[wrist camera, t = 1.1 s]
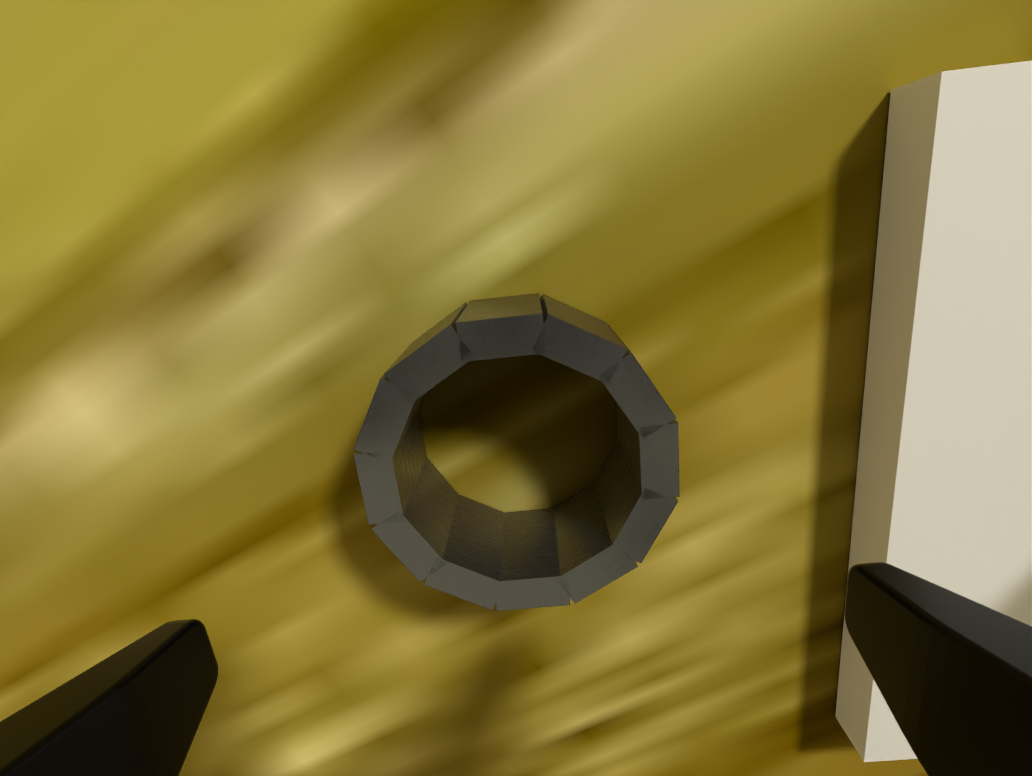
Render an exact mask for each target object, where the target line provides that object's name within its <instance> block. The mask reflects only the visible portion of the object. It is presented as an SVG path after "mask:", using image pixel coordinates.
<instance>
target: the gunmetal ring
mask: <svg viewBox="0 0 1032 776" xmlns="http://www.w3.org/2000/svg"><path fill="white" fill-rule="evenodd" d="M535 354H540V355H542V356H544V357H547V358H549V359H551V360H553V361H556V362H558V363H560V364H563V365H565V366H567V367H570V368H572V369H574V370H577V371H579V372H581V373H583V374H586V375H588V376H590V377H593V378H595V379H597V380H600V381H602V382H603V384H604V385H605V387H606V388H607V389H608V391H609V392H610V394H611V395H612V396H613V398H614V399H615V401H616V413H617V431H618V440H617V442H616V444H615V446H614V448H613V449H612V451H611V453H610V455H609V457H608V459H607V461H606V462H605V464H604V466H603V468H602V470H601V472H600V474H599V475H598V477H597V479H596V481H595V482H594V483H593V484H591V485H589V486H588V487H586V488H585V489H583V490H582V491H580V492H578V493H577V494H575V495H574V496H572V497H571V498H569V499H567V500H566V501H564V502H563V503H561V504H560V505H558V506H556V507H555V508H551V509H540V510H529V511H518V512H507V513H504V512H501V511H498V510H496V509H493V508H491V507H488V506H486V505H483V504H481V503H478V502H476V501H473V500H471V499H468V498H466V497H463V496H461V495H458V494H457V492H456V491H455V490H454V489H453V488H452V487H451V485H450V484H449V483H448V482H447V481H446V480H445V478H444V477H443V476H442V475H441V474H440V472H439V471H438V470H437V469H436V468H435V467H434V465H433V464H432V463H431V462H430V461H429V460H428V458H427V456H426V450H425V444H424V438H423V433H422V427H421V421H420V415H419V407H420V405H421V402H422V400H423V397H424V395H425V393H426V392H427V391H429V390H430V389H431V388H433V387H434V386H435V385H437V384H438V383H440V382H441V381H442V380H444V379H445V378H447V377H448V376H449V375H451V374H452V373H453V372H455V371H456V370H458V369H459V368H460V367H462V366H463V365H465V364H466V363H467V362H469V361H477V360H486V359H496V358H506V357H515V356H525V355H535ZM675 419H676V417H675V415H674V414H673V412H672V411H671V409H670V408H669V407H668V405H667V404H666V402H665V401H664V399H663V398H662V396H661V395H660V393H659V392H658V391H657V389H656V388H655V386H654V385H653V383H652V382H651V380H650V379H649V377H648V376H647V375H646V373H645V372H644V370H643V369H642V367H641V366H640V364H639V363H638V361H637V360H636V358H635V357H634V356H633V354H632V353H631V351H630V350H629V349H628V348H627V347H626V345H625V344H624V343H623V342H622V341H621V339H620V338H619V337H618V336H617V335H616V333H615V332H614V331H613V330H612V329H611V327H610V326H609V325H607V324H606V323H605V322H604V321H602V320H600V319H597V318H595V317H593V316H591V315H589V314H586V313H584V312H582V311H580V310H577V309H575V308H573V307H571V306H568V305H566V304H564V303H562V302H559V301H557V300H555V299H553V298H551V297H548V296H546V295H544V294H543V295H542V298H541V300H540V299H539V294H528V295H519V296H510V297H501V298H491V299H482V300H473V301H470V302H469V303H468V305H467V303H465V304H463V305H462V306H461V307H459V308H458V309H457V310H455V311H454V312H453V313H451V314H450V315H449V316H447V317H446V318H445V319H443V320H442V321H441V322H439V323H438V324H437V325H435V326H434V327H433V328H431V329H430V330H429V331H427V332H426V333H425V334H423V335H422V336H421V337H419V338H418V339H416V340H415V341H414V342H413V343H412V344H411V345H410V346H409V347H408V348H407V349H406V350H405V351H404V353H403V354H402V355H401V356H400V357H399V358H398V359H397V360H396V361H395V362H394V363H393V365H392V366H391V367H390V368H389V369H388V370H387V371H386V372H385V373H384V375H383V376H382V377H381V379H380V381H379V384H378V386H377V389H376V392H375V394H374V397H373V400H372V402H371V405H370V408H369V410H368V413H367V415H366V418H365V421H364V423H363V426H362V429H361V431H360V434H359V437H358V439H357V442H356V444H355V447H354V450H356V451H355V453H354V454H353V455H354V460H355V464H356V469H357V473H358V478H359V483H360V487H361V492H362V496H363V501H364V506H365V510H366V515H367V519H368V524H369V525H371V524H373V526H372V528H371V530H372V531H373V532H374V533H375V534H376V535H377V536H378V537H379V538H380V539H381V541H382V542H383V543H384V544H385V545H386V546H387V547H388V548H389V549H390V550H391V551H392V552H393V554H394V555H395V556H396V557H397V558H398V559H399V560H400V561H401V562H402V563H403V564H404V566H405V567H406V568H407V569H408V570H409V571H410V572H411V573H412V574H413V575H414V576H415V577H416V579H417V580H418V581H419V582H420V581H422V580H424V579H425V578H426V579H425V582H424V585H426V586H429V587H431V588H434V589H437V590H439V591H442V592H445V593H447V594H450V595H453V596H455V597H458V598H461V599H463V600H466V601H469V602H471V603H474V604H477V605H480V606H482V607H485V608H488V609H490V610H493V608H494V606H495V604H496V606H497V611H502V610H514V609H527V608H539V607H551V606H563V605H570V598H571V599H572V600H573V602H574V603H577V602H578V601H580V600H582V599H583V598H585V597H587V596H589V595H590V594H592V593H594V592H595V591H597V590H599V589H600V588H602V587H604V586H606V585H607V584H609V583H611V582H612V581H614V580H616V579H617V578H619V577H621V576H623V575H624V574H626V573H628V572H629V571H631V570H633V569H634V568H636V567H638V566H637V563H636V561H637V562H640V563H642V561H643V559H644V558H645V556H646V554H647V553H648V551H649V549H650V548H651V546H652V544H653V543H654V541H655V539H656V538H657V536H658V534H659V533H660V531H661V529H662V528H663V526H664V524H665V523H666V521H667V519H668V518H669V516H670V514H671V513H672V511H673V509H674V508H675V506H676V504H677V503H678V500H677V499H676V497H679V449H678V422H677V421H676V420H675Z"/></svg>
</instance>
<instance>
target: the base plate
mask: <svg viewBox="0 0 1032 776" xmlns="http://www.w3.org/2000/svg"><path fill="white" fill-rule="evenodd" d="M876 562H884V563H888V564H890V565H893V566H895V567H897V568H900V569H902V570H904V571H906V572H909V573H911V574H913V575H916V576H918V577H920V578H922V579H925V580H927V581H929V582H932V583H934V584H936V585H938V586H941V587H943V588H945V589H948V590H950V591H952V592H954V593H957V594H959V595H961V596H964V597H966V598H968V599H970V600H973V601H975V602H977V603H980V604H982V605H984V606H986V607H989V608H991V609H993V610H996V611H998V612H1000V613H1003V614H1005V615H1007V616H1009V617H1012V618H1014V619H1016V620H1019V621H1021V622H1023V623H1025V624H1028V625H1030V626H1032V61H1025V62H1017V63H1009V64H1000V65H992V66H984V67H976V68H968V69H960V70H952V71H943V72H940V73H937V74H934V75H931V76H928V77H926V78H923V79H920V80H917V81H915V82H912V83H909V84H906V85H903V86H901V87H898V88H895V89H892V90H891V93H890V104H889V116H888V127H887V138H886V150H885V161H884V172H883V183H882V195H881V206H880V217H879V229H878V240H877V251H876V263H875V274H874V285H873V296H872V308H871V319H870V330H869V342H868V353H867V364H866V376H865V387H864V398H863V409H862V421H861V432H860V443H859V455H858V466H857V477H856V489H855V500H854V511H853V522H852V534H851V545H850V556H849V568H848V573H849V570H850V568H851V567H852V566H854V565H856V564H864V563H876ZM847 580H848V579H847ZM846 591H847V590H846ZM845 603H846V602H845ZM835 717H836V719H837V720H838V722H839V723H840V725H841V727H842V728H843V730H844V731H845V733H846V735H847V736H848V738H849V739H850V741H851V742H852V744H853V746H854V747H855V749H856V750H857V752H858V754H859V755H860V757H861V758H862V760H863V761H864V762H874V761H889V760H904V759H918V758H917V757H916V755H915V754H914V752H913V750H912V748H911V747H910V745H909V743H908V741H907V740H906V738H905V736H904V734H903V733H902V731H901V729H900V727H899V725H898V723H897V722H896V720H895V718H894V716H893V714H892V712H891V711H890V709H889V707H888V705H887V703H886V701H885V699H884V698H883V696H882V694H881V692H880V690H879V688H878V686H877V685H876V683H875V681H874V679H873V677H872V675H871V673H870V672H869V670H868V668H867V666H866V664H865V662H864V661H863V659H862V657H861V655H860V653H859V651H858V649H857V648H856V646H855V644H854V642H853V640H852V638H851V636H850V634H849V632H848V629H847V626H846V623H845V613H844V624H843V635H842V647H841V658H840V669H839V681H838V692H837V703H836V715H835Z"/></svg>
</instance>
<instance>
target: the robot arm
mask: <svg viewBox="0 0 1032 776" xmlns="http://www.w3.org/2000/svg"><path fill="white" fill-rule="evenodd" d="M845 623H846V626H847V629H848V632H849V634H850V636H851V638H852V640H853V642H854V644H855V646H856V648H857V649H858V651H859V653H860V655H861V657H862V659H863V661H864V662H865V664H866V666H867V668H868V670H869V672H870V673H871V675H872V677H873V679H874V681H875V683H876V685H877V686H878V688H879V690H880V692H881V694H882V696H883V698H884V699H885V701H886V703H887V705H888V707H889V709H890V711H891V712H892V714H893V716H894V718H895V720H896V722H897V723H898V725H899V727H900V729H901V731H902V733H903V734H904V736H905V738H906V740H907V741H908V743H909V745H910V747H911V748H912V750H913V752H914V754H915V755H916V757H917V758H918V760H919V761H920V763H921V765H922V766H923V768H924V769H925V771H926V772H927V774H928V776H1032V626H1030V625H1028V624H1025V623H1023V622H1021V621H1019V620H1016V619H1014V618H1012V617H1009V616H1007V615H1005V614H1003V613H1000V612H998V611H996V610H993V609H991V608H989V607H986V606H984V605H982V604H980V603H977V602H975V601H973V600H970V599H968V598H966V597H964V596H961V595H959V594H957V593H954V592H952V591H950V590H948V589H945V588H943V587H941V586H938V585H936V584H934V583H932V582H929V581H927V580H925V579H922V578H920V577H918V576H916V575H913V574H911V573H909V572H906V571H904V570H902V569H900V568H897V567H895V566H893V565H890V564H888V563H884V562H876V563H864V564H856V565H854V566H852V567H851V568H850V570H849V573H848V580H847V591H846V603H845ZM217 677H218V664H217V661H216V658H215V655H214V652H213V649H212V646H211V643H210V640H209V637H208V634H207V631H206V628H205V626H204V624H203V623H202V622H201V621H199V620H196V619H190V620H178V621H170V622H167V623H165V624H163V625H162V626H160V627H158V628H157V629H155V630H153V631H152V632H150V633H148V634H147V635H145V636H143V637H141V638H140V639H138V640H136V641H135V642H133V643H131V644H130V645H128V646H126V647H125V648H123V649H121V650H120V651H118V652H116V653H115V654H113V655H111V656H110V657H108V658H106V659H105V660H103V661H101V662H100V663H98V664H96V665H95V666H93V667H91V668H90V669H88V670H86V671H85V672H83V673H81V674H80V675H78V676H76V677H75V678H73V679H71V680H70V681H68V682H66V683H65V684H63V685H61V686H59V687H58V688H56V689H54V690H53V691H51V692H49V693H48V694H46V695H44V696H43V697H41V698H39V699H38V700H36V701H34V702H33V703H31V704H29V705H28V706H26V707H24V708H23V709H21V710H19V711H18V712H16V713H14V714H13V715H11V716H9V717H8V718H6V719H4V720H3V721H1V722H0V776H178V775H179V773H180V771H181V768H182V766H183V763H184V761H185V758H186V756H187V753H188V751H189V748H190V746H191V744H192V741H193V739H194V736H195V734H196V731H197V729H198V726H199V724H200V722H201V719H202V717H203V714H204V712H205V709H206V707H207V704H208V702H209V699H210V697H211V695H212V692H213V690H214V687H215V684H216V681H217Z"/></svg>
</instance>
